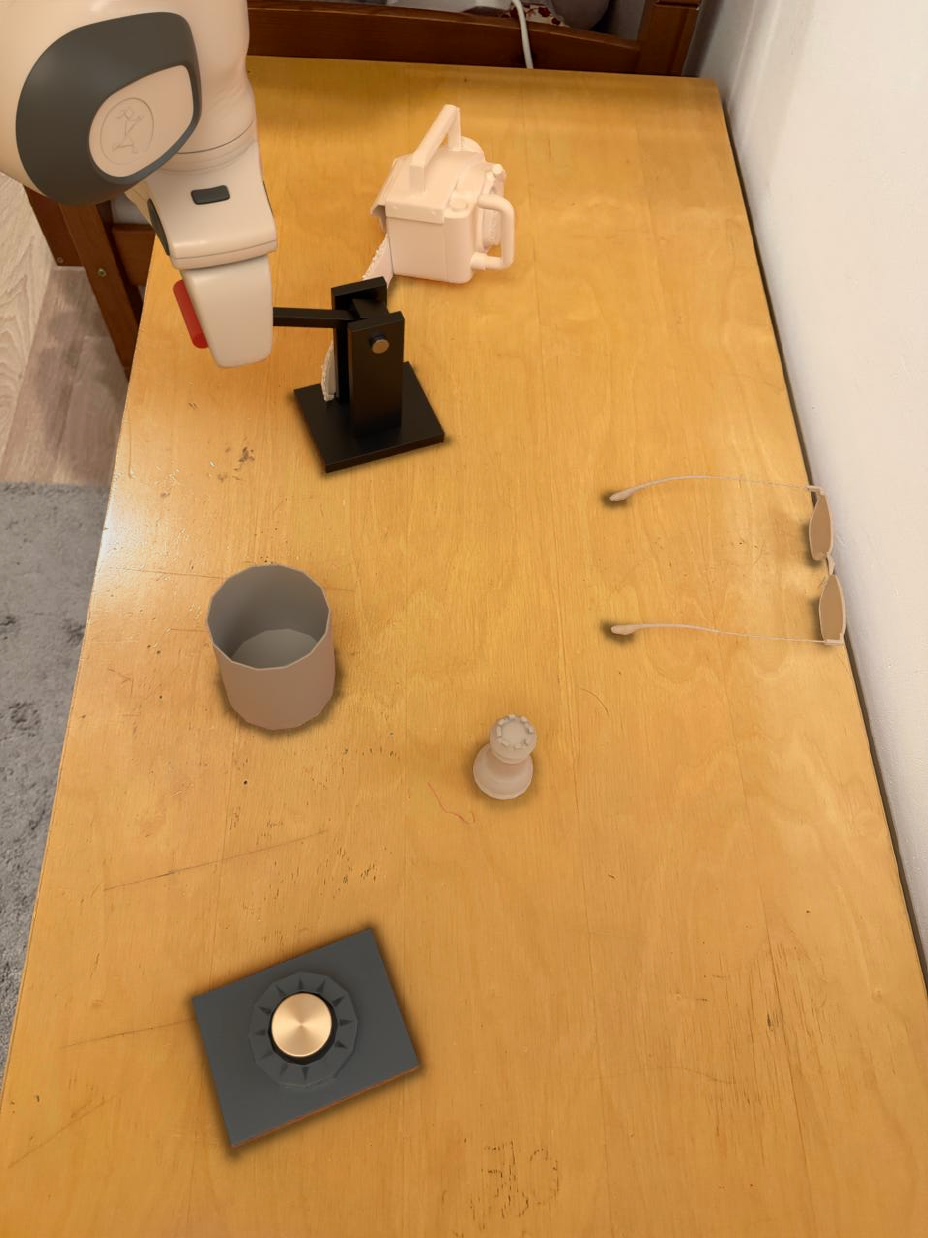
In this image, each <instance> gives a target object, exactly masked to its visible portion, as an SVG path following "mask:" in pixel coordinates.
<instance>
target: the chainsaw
mask: <svg viewBox="0 0 928 1238" xmlns="http://www.w3.org/2000/svg"><path fill="white" fill-rule="evenodd" d="M446 135H447V141H445V143H444V144H442V142H443V140H444V139H445V138H446ZM441 144H442V145H441ZM506 180H507V174H506V170H505V168H503V166H502V164H500V163H495V162H488V161H487V158H486V156H485V153H484V151H483V149H482V147H481V146H480V145H479V144H478V143H477V142H476V141H475V140H473V139H471V138H470V137H466V136H464V135H462V129H461V108H460V107H457V106H456V105H454V104H450V103H449V104H448V103H446V104H444V105H443V107H442V108H441V110H440V112H439V113H438V114H437V116H436V117H435V119H434V121H433V122H432V123H431V125H430V127H429V129H428V130H427V132H426V133H425V135H424V137H423V138H422V140H421V141H420V142H419V144H418V145H417V147H416V148H415V151H413V152H412V153H407V154H403V155H400V156H398V157H396V158H394V159H393V162H392V164H391V168H390V170H389V172H388V174H387V176H386V178H385V180H384V182H383V184H382V185H381V188H380V190H379V192H378V194H377V195H376V197H375V199H374V201H373V204H372V205H371V207H370V209H369V215H370V217H372V218H377V219H378V223H379V227H380V230H381V232H382V233H383V234H385V237H384V238H383V239H382V242H381V243H380V244H379V245H378V249H376V250H375V255H374V256H373V258H372V261H371V263H370V264H369V267H368V268H366V270H365V274H363V275H362V280H361V281H363V280H367V279H372V278H376V277H381V276H383V277H384V279H385V281H386V283H387V290H388V289H389V285H390V283H391V280H392V278H393V277H394V275H397V276H401V277H402V276H403V277H410V278H417V279H423V280H429V281H436V282H444V283H449V284H455V285H456V284H457V285H463V284H466V283H468V282H470V280H471V279H472V278H473V277H474V275H475V273H476V271H478V272H479V271H480V272H486V271H487V270H489V271H496V272H497V271H499V272H500V271H505V270H507V269H509V268H510V267H511V266H512V265H513V263H514V260H515V209H514V206H513V205H512V203H511V202H510V201H509V200H507V198H504V196H505V187H504V186H505V183H504V182H505V181H506ZM499 244H500V253H501V254H500V256H492V255H489V254H488V252H489V251H490V249H491V247H492V248H493V247H496V246H498V245H499ZM327 350H328V351H327V352H326V355H324V358H323V364H322V365H321V366H320V369H321V370H322V371H321V381H320V383H321V386H322V391H323V395H324V400H325V401H329V400H332V399H333V398H334V395H332V394H334V393H335V392H336V385H335V365H334V345H333V338H332V339H331V340H330V345H329V347H328V349H327ZM326 398H327V399H326Z"/></svg>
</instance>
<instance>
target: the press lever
mask: <svg viewBox="0 0 928 1238" xmlns="http://www.w3.org/2000/svg"><path fill="white" fill-rule="evenodd" d="M172 292H173V294H174V298H175V300H176V303H177V305H178V308H179V311H180V314H181V316H182V318H183V321H184V324H185V327H186V330H187V332H188V335H189V337H190V340H191V343H192V345H193V346H194V347H195V348H197V349H200V350H202V349H203V350H204V349H209V347H208V344H207V341H206V338H205V336H204V333H203V331H202V328H201V325H200V323H199V320H198V318H197V315H196V313H195V310H194V307H193V305H192V302H191V300H190V297H189V295H188V292H187V290H186V287H185V284H184V282H183V279H182V278H181V279H179V280H177V281H176V282H175V283H174V285H173V286H172ZM389 313H390V310H389V309H388V306H387V307H386V305H385V303H384V301H383V300H370V299H352V300H351V303H350V305H349V308H348V310H332V308H331V309H327V308H307V307H306V308H305V307H286V306H285V307H283V306H273V327H277V328H279V327H283V328H310V329H333V328H337V329H347V331H348V326H347V324H348V323H351V322H355V321H359V320H363V319H368V318H372V317H376V316H380V315H385V314H389Z"/></svg>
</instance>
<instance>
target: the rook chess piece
mask: <svg viewBox="0 0 928 1238" xmlns="http://www.w3.org/2000/svg"><path fill="white" fill-rule="evenodd" d="M489 740H490V741H489V742H487V743H486V744H484V745H483V746H482V747H481V748H480V750H479V751H478V753H477V754H476V757H475V758H474V762H473V766H472V772H473V779H474V782H475V783H476V785H477V787H478V788H479V789H480V790H481V792H483V793H484V794H486V795H487V796H489V797H490V798H494V799H497V800H501V801H503V800H513V799H515V798H518V797H519V796H522V794H524V793H525V792H526V791H527V789H528V788H529V787H530V785H531V783H532V779H533V773H534V764H533V760H532V757H531V755H530V754H531V753H532V752H533V750H534V749H535V748H536V747H537V741H538V736H537V731H536V728H535V727H534V725H533V723H532V722H531V721H530V720H529V719H528V718H527V717H525V716H523V715H522V716H521V715H517V714H516V713H513V714H507V715H503V716H501V717H500V718H498V719H496V720H495V722H494V723H493V724H492V725H491V727H490V731H489Z"/></svg>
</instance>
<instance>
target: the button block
mask: <svg viewBox="0 0 928 1238" xmlns="http://www.w3.org/2000/svg"><path fill="white" fill-rule="evenodd" d="M374 935H375V934H374V933H373V930H372V928H371V927H369V928H367V929H365V930H362V931H359V932H357V933H354V934H351V935H349V936H347V937H344V938H341V939H339V940H336V941H333V942H331V943H329V944H326V945H323V946H321V947H319V948H316V949H313V950H311V951H309V952H306V953H303V954H301V955H299V956H296V957H293V958H290V959H288V960H286V961H283V962H280V963H278V964H275V965H273V966H269V967H268V968H265V969H263V970H259V971H258V972H255V973H253V974H249V975H248V976H245V977H242V978H240V979H237V980H234V981H232V982H230V983H227V984H224V985H222V986H219V987H216V988H214V989H212V990H209V991H206V992H204V993H201V994H198V995H196V996H194V997H192V998H191V1002H192V1005H193V1009H194V1013H195V1016H196V1021H197V1024H198V1027H199V1031H200V1035H201V1040H202V1043H203V1047H204V1051H205V1054H206V1059H207V1061H208V1066H209V1069H210V1073H211V1077H212V1081H213V1084H214V1088H215V1092H216V1095H217V1096H216V1097H217V1100H218V1103H219V1107H220V1111H221V1114H222V1119H223V1121H224V1125H225V1129H226V1133H227V1137H228V1141H229V1144H230V1147H232V1148H235V1149H238V1148H239V1147H242V1146H244V1145H246V1144H249V1143H250V1142H254V1141H255V1140H258V1139H260V1138H263V1137H265V1136H267V1135H269V1134H271V1133H274V1132H276V1131H278V1130H281V1129H283V1128H286V1127H288V1126H290V1125H292V1124H295V1123H297V1122H299V1121H301V1120H303V1119H306V1118H308V1117H310V1116H313V1115H315V1114H318V1113H320V1112H322V1111H325V1110H327V1109H329V1108H331V1107H333V1106H336V1105H338V1104H341V1103H342V1102H346V1101H348V1100H349V1099H350V1100H351V1099H352V1098H355V1097H356V1096H359V1095H361V1094H363V1093H366V1092H368V1091H370V1090H373V1089H376V1088H377V1087H380V1086H382V1085H384V1084H386V1083H388V1082H391V1081H393V1080H396V1079H398V1078H401V1077H402V1076H405V1075H407V1074H410V1073H412V1072H414V1071H416V1070H419V1067H420V1062H419V1060H418V1056H417V1054H416V1050H415V1048H414V1045H413V1042H412V1039H411V1036H410V1034H409V1031H408V1028H407V1026H406V1023H405V1020H404V1017H403V1015H402V1011H401V1009H400V1006H399V1003H398V1000H397V998H396V994H395V992H394V988H393V986H392V983H391V981H390V977H389V975H388V972H387V969H386V966H385V963H384V960H383V958H382V955H381V952H380V949H379V947H378V944H377V941H376V938H375V936H374ZM300 993H308V994H312V995H315V996H317V997H318V998H320V999H321V1000H322V1001H323V1002H324V1003H325V1004H326V1005H327V1007H328V1009H329V1011H330V1014H331V1018H332V1023H333V1030H332V1035H331V1039H330V1041H329V1043H328V1045H327V1046H326V1048H325V1049H324V1050H323V1051H322V1052H321V1053H320V1054H318V1055H317V1056H315V1057H313V1058H310V1059H306V1060H296V1059H292V1058H290V1057H288V1056H286V1055H285V1054H284V1053H282V1051H281V1050H280V1049H279V1048H278V1046H277V1045H276V1043H275V1041H274V1039H273V1036H272V1031H271V1024H272V1019H273V1015H274V1013H275V1011H276V1009H277V1008H278V1006H279V1005H280V1004H281V1003H282V1002H283V1001H284V1000H285V999H287V998H288V997H290V996H292V995H295V994H300Z"/></svg>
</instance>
